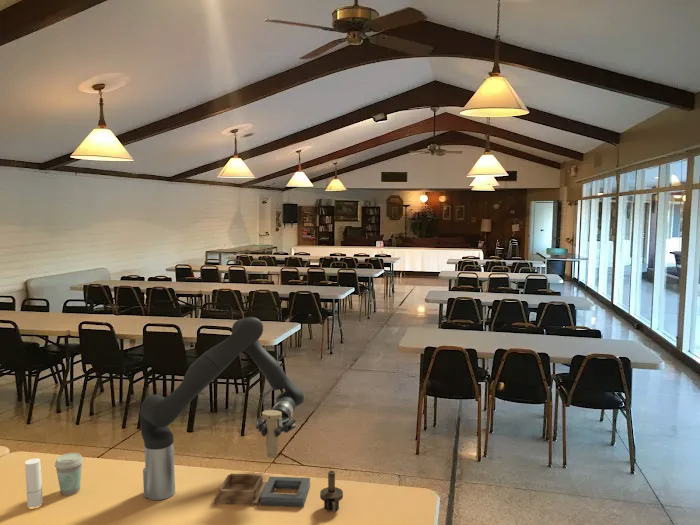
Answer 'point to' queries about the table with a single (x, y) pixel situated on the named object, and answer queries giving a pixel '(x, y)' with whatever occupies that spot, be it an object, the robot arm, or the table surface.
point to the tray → (241, 489)
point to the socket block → (285, 499)
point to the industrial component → (331, 494)
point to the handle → (271, 431)
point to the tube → (33, 482)
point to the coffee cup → (69, 472)
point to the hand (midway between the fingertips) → (270, 433)
